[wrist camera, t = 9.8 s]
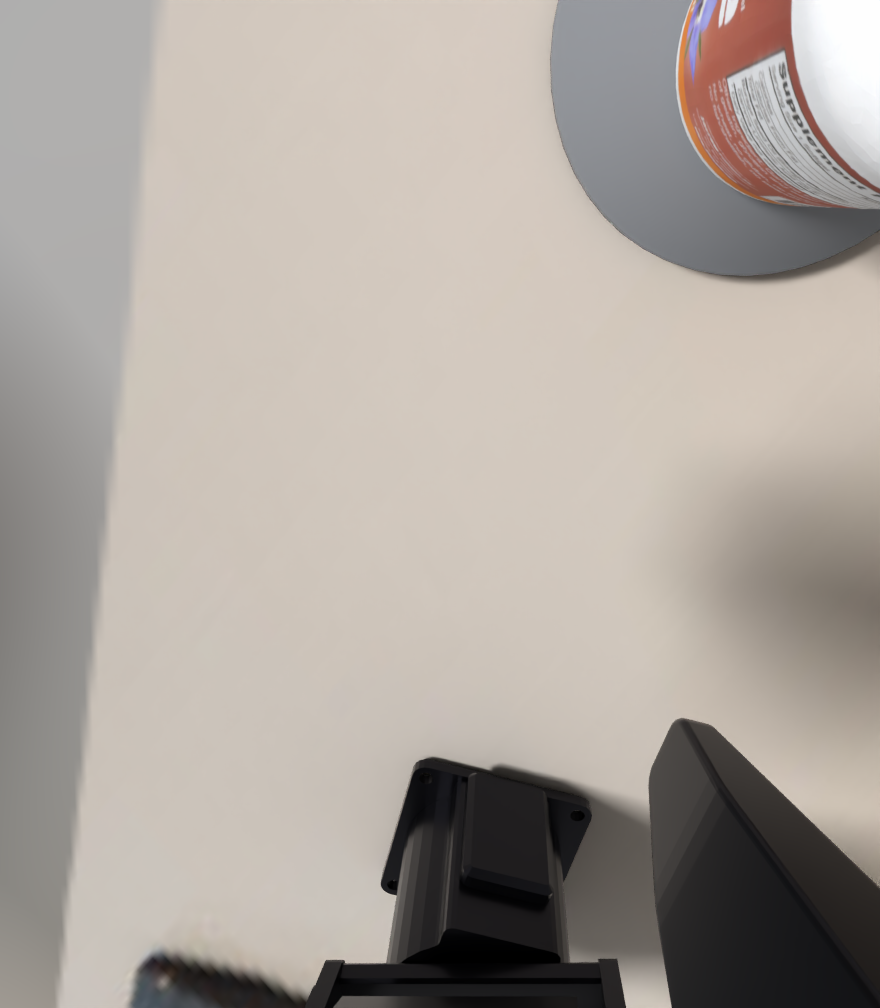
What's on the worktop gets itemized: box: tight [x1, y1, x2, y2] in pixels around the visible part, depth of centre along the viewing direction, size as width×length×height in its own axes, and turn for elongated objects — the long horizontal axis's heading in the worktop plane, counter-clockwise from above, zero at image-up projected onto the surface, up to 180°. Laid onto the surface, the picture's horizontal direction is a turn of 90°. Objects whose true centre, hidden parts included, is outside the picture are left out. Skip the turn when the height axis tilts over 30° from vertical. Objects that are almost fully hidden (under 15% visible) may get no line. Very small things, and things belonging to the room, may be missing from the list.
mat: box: [550, 0, 880, 276], centre depth 17 cm, size 10×10×1 cm
